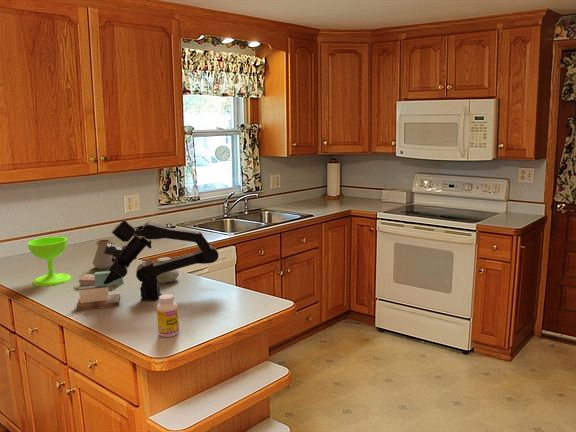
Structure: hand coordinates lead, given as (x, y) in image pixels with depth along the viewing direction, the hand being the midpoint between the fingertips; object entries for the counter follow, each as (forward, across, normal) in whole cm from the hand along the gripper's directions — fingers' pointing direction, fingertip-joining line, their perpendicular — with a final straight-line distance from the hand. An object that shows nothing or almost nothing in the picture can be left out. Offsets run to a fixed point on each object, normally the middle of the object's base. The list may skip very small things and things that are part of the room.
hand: (105, 280), depth 209 cm
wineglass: (+25, -39, -12) cm, 48 cm away
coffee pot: (+8, -47, +5) cm, 48 cm away
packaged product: (+10, -24, +3) cm, 26 cm away
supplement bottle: (-9, +38, +22) cm, 45 cm away
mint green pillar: (0, 0, +2) cm, 2 cm away
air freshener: (-9, -20, +23) cm, 32 cm away
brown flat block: (+9, 0, +4) cm, 10 cm away
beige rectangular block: (+9, 0, +2) cm, 9 cm away
